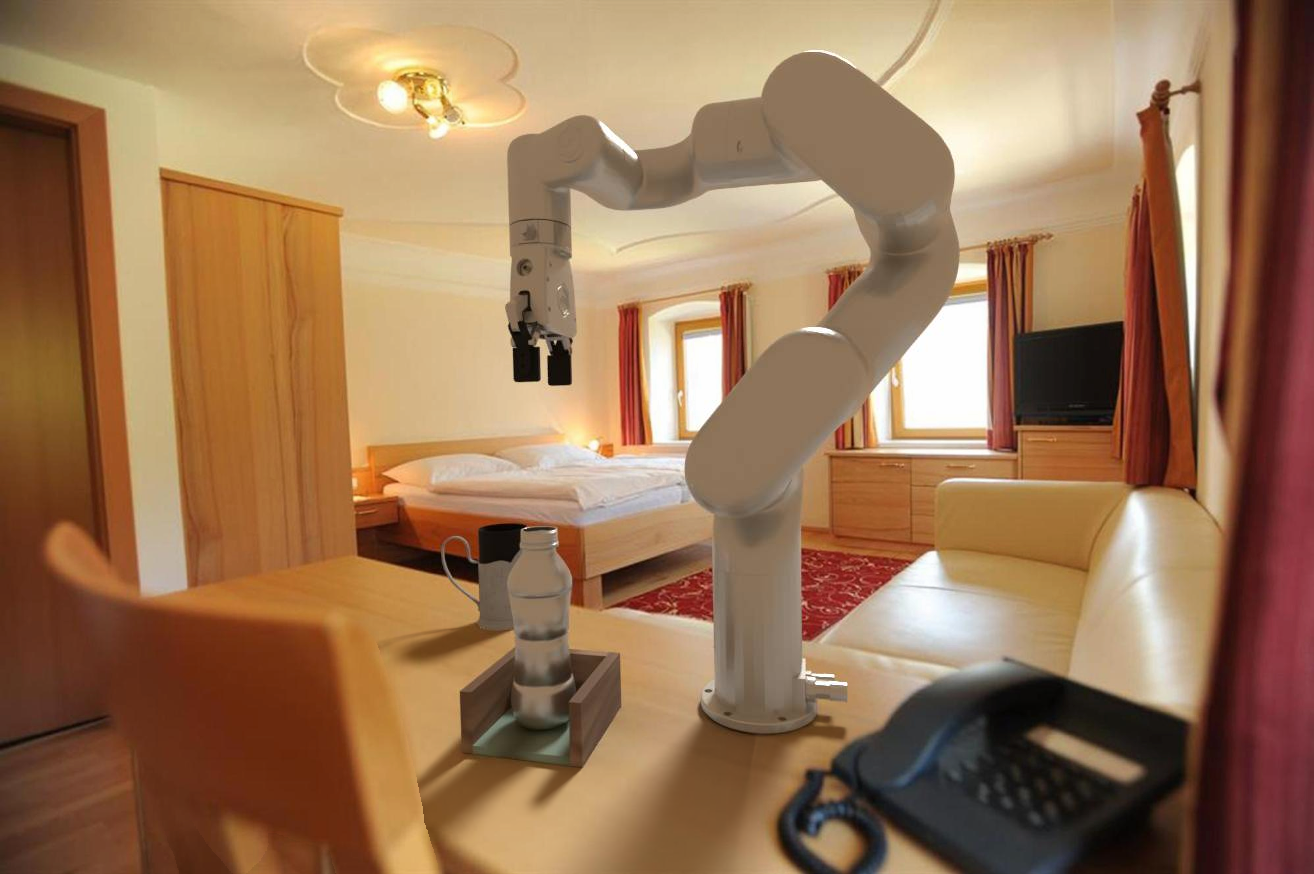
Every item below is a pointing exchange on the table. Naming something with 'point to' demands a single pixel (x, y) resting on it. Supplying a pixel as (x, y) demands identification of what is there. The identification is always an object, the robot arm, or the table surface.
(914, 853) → the table surface
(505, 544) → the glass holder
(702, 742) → the table surface
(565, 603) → the plastic bottle
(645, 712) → the table surface
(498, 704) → the u rest
